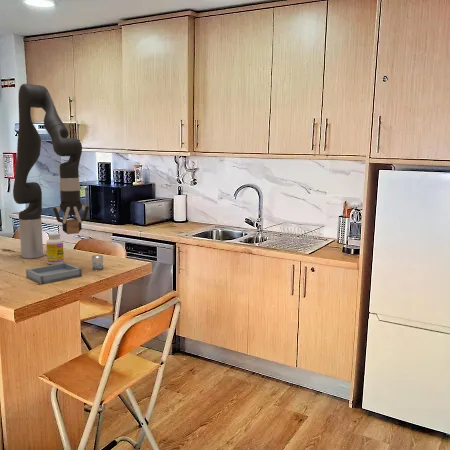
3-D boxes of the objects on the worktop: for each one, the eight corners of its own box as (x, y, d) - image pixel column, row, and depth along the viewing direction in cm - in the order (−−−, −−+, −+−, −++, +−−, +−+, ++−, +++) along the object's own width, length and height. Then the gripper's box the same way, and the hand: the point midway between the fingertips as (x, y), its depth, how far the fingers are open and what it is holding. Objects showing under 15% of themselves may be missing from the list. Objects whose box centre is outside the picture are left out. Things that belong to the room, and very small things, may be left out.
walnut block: (65, 232, 192) (65, 220, 191) (77, 231, 194) (76, 219, 193) (67, 234, 188) (66, 221, 187) (79, 233, 190) (78, 220, 189)
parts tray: (26, 277, 181) (26, 269, 180) (66, 269, 192) (65, 262, 192) (41, 284, 172) (40, 276, 171) (81, 276, 183) (81, 268, 182)
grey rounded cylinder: (90, 269, 194) (89, 255, 193) (99, 267, 197) (99, 254, 196) (95, 271, 191) (95, 257, 190) (105, 269, 194) (105, 256, 193)
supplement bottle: (58, 265, 199) (57, 235, 197) (44, 264, 200) (42, 234, 198) (66, 261, 205) (65, 232, 203) (53, 260, 207) (51, 231, 205)
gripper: (87, 188, 194) (88, 229, 197) (49, 189, 188) (52, 231, 191) (90, 189, 187) (92, 232, 190) (52, 190, 181) (54, 234, 184)
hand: (72, 231), depth 190 cm, fingers closed on walnut block, 4 cm apart
